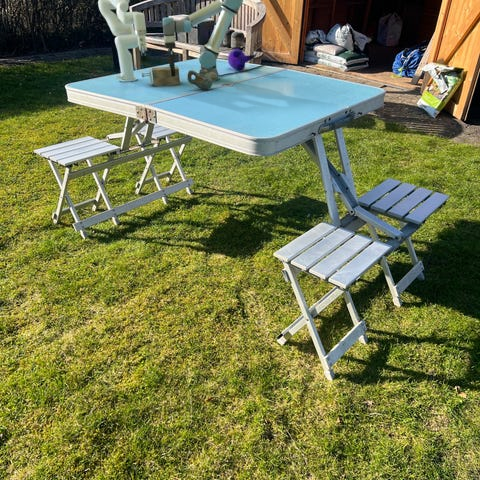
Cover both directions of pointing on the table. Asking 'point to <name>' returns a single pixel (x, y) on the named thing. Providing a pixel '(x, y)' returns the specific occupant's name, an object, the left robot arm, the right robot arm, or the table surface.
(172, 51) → the right robot arm
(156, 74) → the cabinet
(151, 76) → the drawer
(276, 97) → the table surface
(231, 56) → the toy
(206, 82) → the teapot
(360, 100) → the table surface
